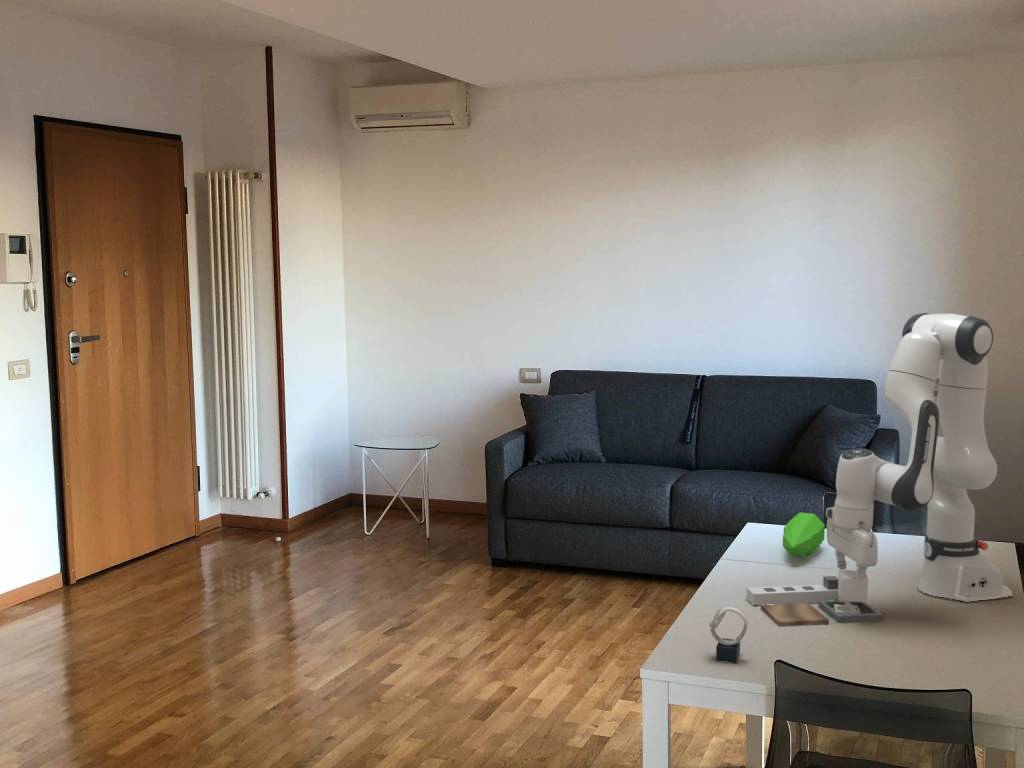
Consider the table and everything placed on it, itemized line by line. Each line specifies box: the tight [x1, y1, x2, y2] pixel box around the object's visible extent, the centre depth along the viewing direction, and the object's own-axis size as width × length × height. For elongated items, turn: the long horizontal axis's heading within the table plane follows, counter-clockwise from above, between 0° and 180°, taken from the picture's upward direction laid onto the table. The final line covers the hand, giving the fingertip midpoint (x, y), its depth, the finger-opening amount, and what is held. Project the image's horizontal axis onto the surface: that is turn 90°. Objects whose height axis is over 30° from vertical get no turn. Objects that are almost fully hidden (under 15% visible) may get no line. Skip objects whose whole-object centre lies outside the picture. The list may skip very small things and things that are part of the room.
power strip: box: [745, 575, 839, 606], centre depth 262 cm, size 22×8×5 cm, turn 97°
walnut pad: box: [760, 603, 830, 627], centre depth 253 cm, size 12×12×1 cm
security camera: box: [833, 569, 869, 615], centre depth 254 cm, size 6×7×10 cm
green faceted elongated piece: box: [782, 512, 826, 558], centre depth 303 cm, size 11×12×30 cm
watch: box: [709, 605, 749, 664], centre depth 227 cm, size 6×8×11 cm
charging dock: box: [818, 600, 884, 623], centre depth 254 cm, size 11×11×2 cm
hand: (849, 574), depth 253 cm, fingers open, 8 cm apart
